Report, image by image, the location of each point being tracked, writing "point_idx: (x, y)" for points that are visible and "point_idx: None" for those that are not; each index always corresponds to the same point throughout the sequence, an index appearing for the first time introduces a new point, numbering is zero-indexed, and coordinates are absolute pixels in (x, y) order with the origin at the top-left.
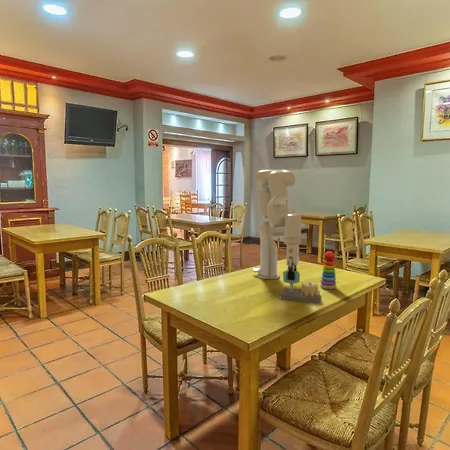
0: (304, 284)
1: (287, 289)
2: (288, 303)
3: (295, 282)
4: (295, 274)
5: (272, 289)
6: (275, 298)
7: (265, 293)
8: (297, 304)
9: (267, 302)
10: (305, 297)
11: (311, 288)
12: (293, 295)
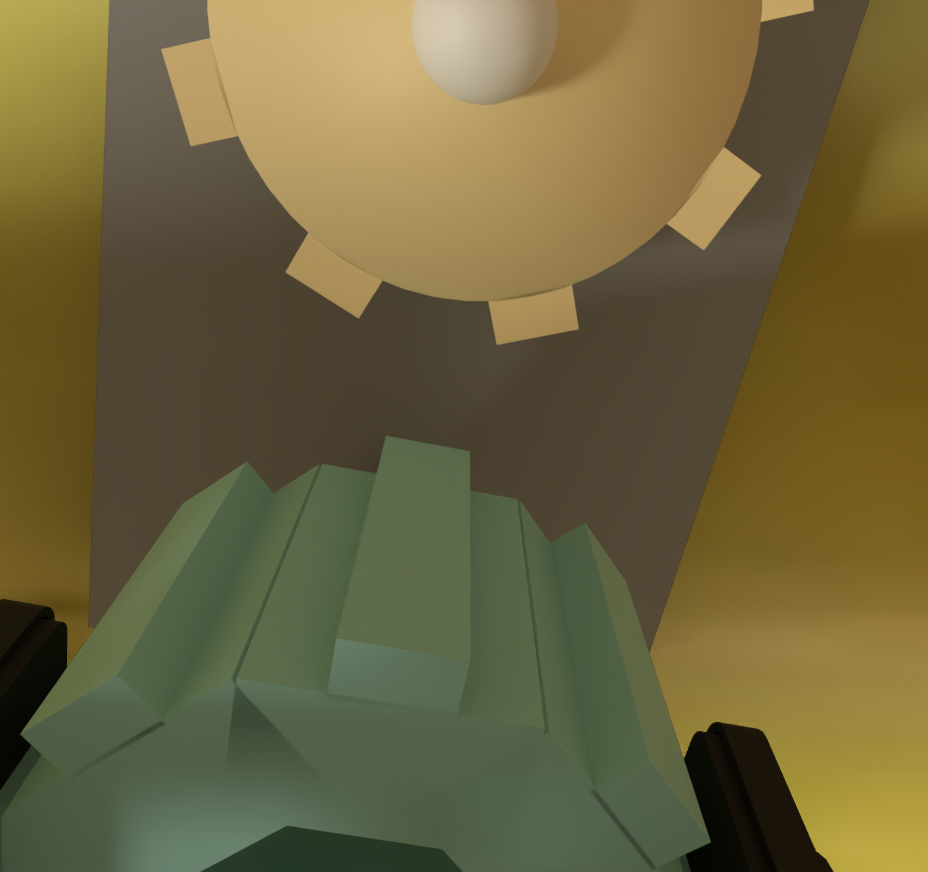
0: (487, 251)
1: None
2: (837, 537)
3: (627, 599)
4: (700, 841)
5: None
6: None
7: None
8: (906, 377)
9: None
10: (789, 206)
11: (794, 14)
12: (639, 474)
